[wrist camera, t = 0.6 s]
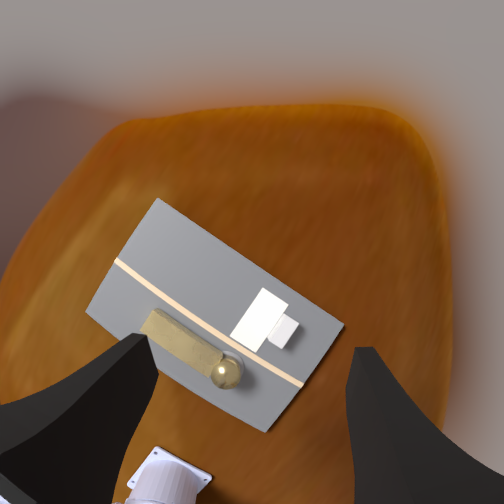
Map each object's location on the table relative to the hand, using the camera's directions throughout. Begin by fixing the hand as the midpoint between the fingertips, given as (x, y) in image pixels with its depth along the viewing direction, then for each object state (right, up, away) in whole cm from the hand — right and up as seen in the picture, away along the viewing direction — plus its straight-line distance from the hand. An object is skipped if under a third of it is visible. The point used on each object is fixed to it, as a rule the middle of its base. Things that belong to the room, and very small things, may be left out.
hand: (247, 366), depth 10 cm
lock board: (-4, -3, +21) cm, 22 cm away
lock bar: (-6, -6, +20) cm, 21 cm away
